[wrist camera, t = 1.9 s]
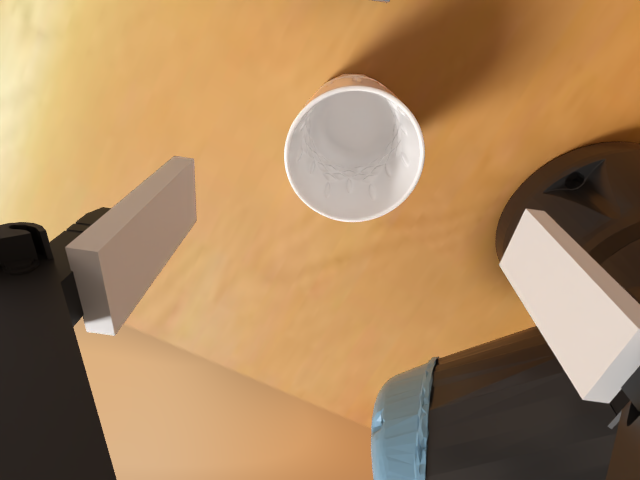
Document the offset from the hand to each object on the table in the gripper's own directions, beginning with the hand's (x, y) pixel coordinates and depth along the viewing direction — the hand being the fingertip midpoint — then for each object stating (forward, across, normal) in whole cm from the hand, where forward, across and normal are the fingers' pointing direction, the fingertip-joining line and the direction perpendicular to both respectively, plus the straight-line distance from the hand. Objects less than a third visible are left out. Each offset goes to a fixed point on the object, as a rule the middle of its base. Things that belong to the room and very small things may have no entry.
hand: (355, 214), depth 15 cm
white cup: (+17, 0, 0) cm, 17 cm away
